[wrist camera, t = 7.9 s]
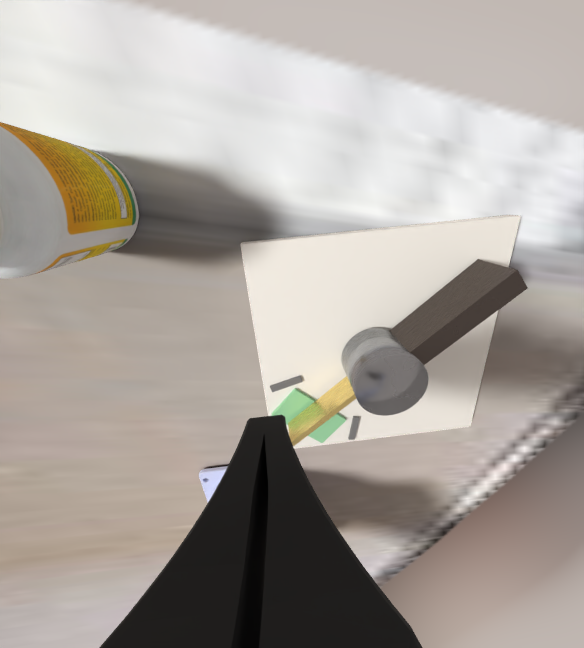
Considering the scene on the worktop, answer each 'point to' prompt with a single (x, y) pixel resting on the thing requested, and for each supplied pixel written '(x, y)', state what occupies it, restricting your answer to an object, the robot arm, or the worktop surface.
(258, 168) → the worktop surface
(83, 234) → the supplement bottle
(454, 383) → the board
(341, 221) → the worktop surface
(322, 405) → the dial pointer
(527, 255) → the worktop surface
